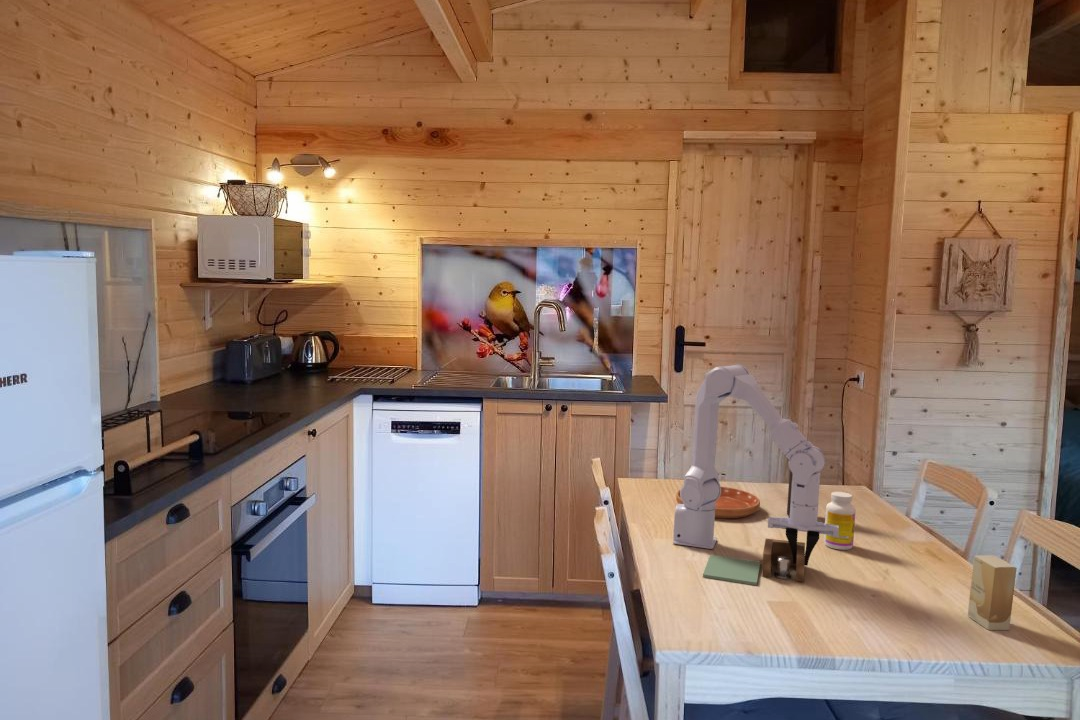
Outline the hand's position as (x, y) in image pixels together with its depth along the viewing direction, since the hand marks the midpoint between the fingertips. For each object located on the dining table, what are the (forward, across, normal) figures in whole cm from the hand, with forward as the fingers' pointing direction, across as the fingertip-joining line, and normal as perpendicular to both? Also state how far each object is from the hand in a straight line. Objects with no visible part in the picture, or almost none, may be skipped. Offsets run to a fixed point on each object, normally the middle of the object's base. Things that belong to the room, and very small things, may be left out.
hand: (800, 563), depth 164 cm
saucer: (+2, -22, +41) cm, 47 cm away
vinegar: (+2, 0, +43) cm, 43 cm away
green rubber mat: (+2, -14, -6) cm, 15 cm away
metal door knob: (+2, -3, -5) cm, 6 cm away
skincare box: (+2, +34, -14) cm, 36 cm away
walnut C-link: (+2, -3, -2) cm, 4 cm away
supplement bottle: (+2, +9, +21) cm, 23 cm away
